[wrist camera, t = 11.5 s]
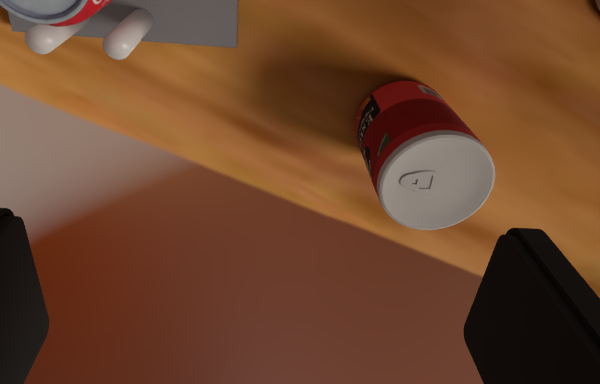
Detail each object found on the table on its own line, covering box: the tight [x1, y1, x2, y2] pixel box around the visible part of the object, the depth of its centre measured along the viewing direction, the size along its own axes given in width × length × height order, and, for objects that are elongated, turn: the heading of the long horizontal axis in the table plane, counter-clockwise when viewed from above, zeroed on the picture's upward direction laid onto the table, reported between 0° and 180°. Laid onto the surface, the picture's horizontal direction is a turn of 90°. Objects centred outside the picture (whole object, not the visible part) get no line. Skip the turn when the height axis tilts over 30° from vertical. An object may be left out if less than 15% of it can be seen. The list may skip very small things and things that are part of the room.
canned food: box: [355, 80, 495, 230], centre depth 37 cm, size 8×8×11 cm
